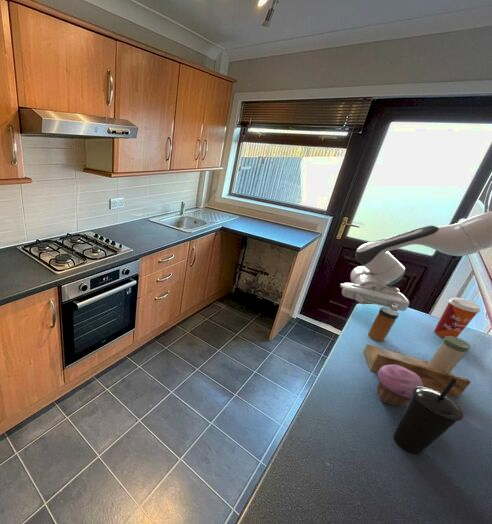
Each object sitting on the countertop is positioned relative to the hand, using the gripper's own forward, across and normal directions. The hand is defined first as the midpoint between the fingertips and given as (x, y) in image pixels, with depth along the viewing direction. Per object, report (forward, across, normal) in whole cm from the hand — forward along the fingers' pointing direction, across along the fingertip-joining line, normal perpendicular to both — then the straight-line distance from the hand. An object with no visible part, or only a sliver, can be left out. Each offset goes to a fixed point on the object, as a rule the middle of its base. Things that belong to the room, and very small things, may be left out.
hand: (378, 306), depth 101 cm
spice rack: (+24, +4, +8) cm, 26 cm away
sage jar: (+23, +10, +5) cm, 26 cm away
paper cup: (-7, +24, +8) cm, 26 cm away
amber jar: (+8, 0, +8) cm, 12 cm away
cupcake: (+38, -4, +8) cm, 39 cm away
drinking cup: (+51, -4, +8) cm, 52 cm away
